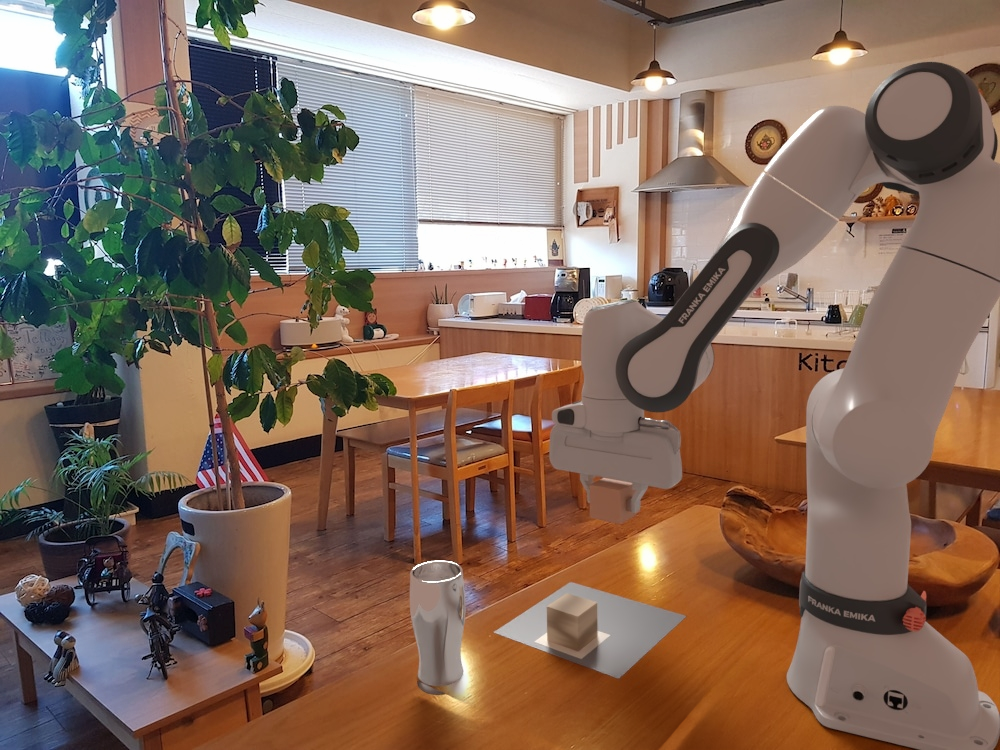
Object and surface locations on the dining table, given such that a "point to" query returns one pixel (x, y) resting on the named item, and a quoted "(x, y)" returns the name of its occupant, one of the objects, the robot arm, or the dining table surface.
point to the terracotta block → (610, 500)
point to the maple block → (572, 621)
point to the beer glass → (438, 622)
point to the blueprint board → (599, 630)
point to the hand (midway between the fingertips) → (613, 506)
